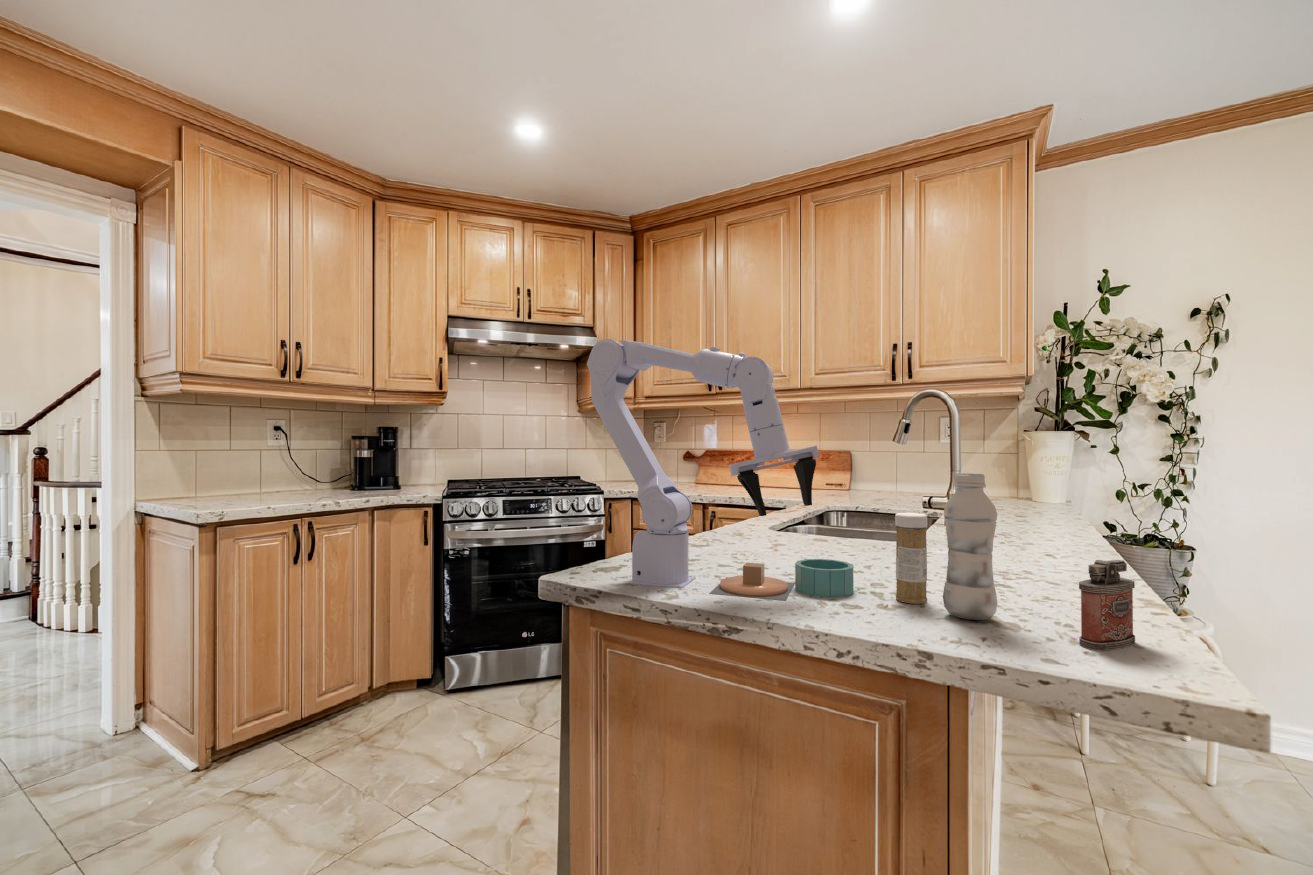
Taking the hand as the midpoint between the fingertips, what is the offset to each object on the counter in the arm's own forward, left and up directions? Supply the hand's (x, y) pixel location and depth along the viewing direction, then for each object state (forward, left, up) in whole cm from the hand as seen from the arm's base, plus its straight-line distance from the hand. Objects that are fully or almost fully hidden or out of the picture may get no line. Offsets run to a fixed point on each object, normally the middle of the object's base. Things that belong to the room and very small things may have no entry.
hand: (785, 510), depth 94 cm
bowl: (+6, +3, -13) cm, 15 cm away
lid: (-5, 0, -13) cm, 14 cm away
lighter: (+40, -11, -14) cm, 43 cm away
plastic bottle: (+26, -5, -14) cm, 30 cm away
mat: (-5, 0, -13) cm, 14 cm away
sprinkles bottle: (+19, +2, -14) cm, 23 cm away
